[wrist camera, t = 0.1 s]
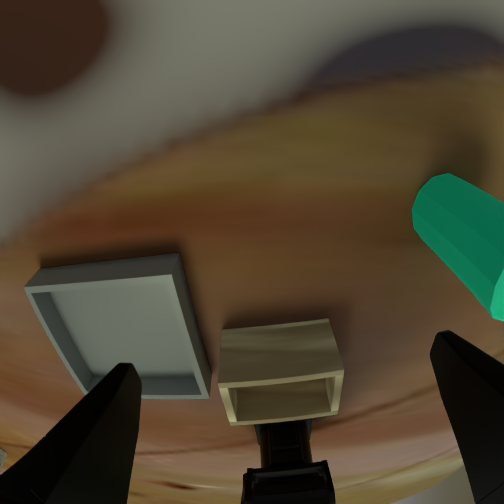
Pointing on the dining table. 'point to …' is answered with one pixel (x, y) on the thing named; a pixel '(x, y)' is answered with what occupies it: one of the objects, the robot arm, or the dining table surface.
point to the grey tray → (124, 323)
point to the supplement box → (2, 458)
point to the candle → (465, 235)
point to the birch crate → (280, 372)
